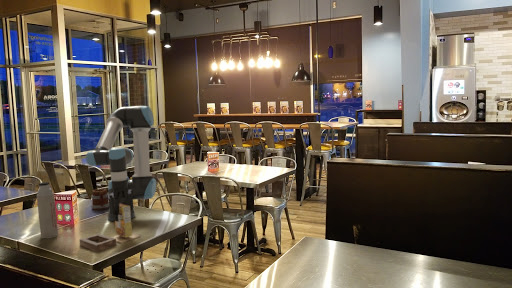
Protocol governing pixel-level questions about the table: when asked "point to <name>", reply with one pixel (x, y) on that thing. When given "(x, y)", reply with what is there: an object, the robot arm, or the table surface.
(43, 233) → the thermos bottle
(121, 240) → the plate
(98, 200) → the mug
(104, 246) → the collar
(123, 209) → the candy box
